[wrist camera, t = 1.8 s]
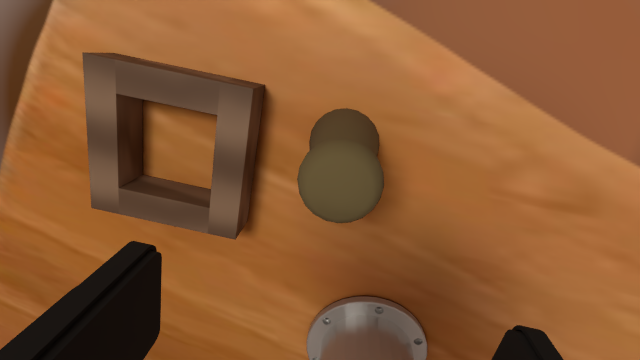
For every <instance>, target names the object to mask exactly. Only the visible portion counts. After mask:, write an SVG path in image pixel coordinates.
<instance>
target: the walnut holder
mask: <svg viewBox="0 0 640 360" xmlns="http://www.w3.org/2000/svg"><path fill="white" fill-rule="evenodd" d="M83 70H84V87H85V104H86V121H87V138H88V156H89V173H90V190H91V207H92V208H94V209H99V210H103V211H108V212H112V213H117V214H121V215H126V216H131V217H135V218H140V219H144V220H149V221H153V222H158V223H162V224H167V225H172V226H176V227H181V228H185V229H190V230H194V231H199V232H203V233H208V234H213V235H217V236H222V237H226V238H231V239H236V238H237V236H238V235H239V233H240V232H241V230H242V228H243V227H244V225H245V224H246V222H247V219H248V211H249V204H250V196H251V188H252V181H253V173H254V165H255V157H256V150H257V142H258V134H259V127H260V119H261V111H262V104H263V96H264V88H265V85H263V84H258V83H254V82H249V81H244V80H239V79H235V78H230V77H225V76H220V75H216V74H211V73H206V72H201V71H197V70H192V69H187V68H182V67H178V66H173V65H168V64H163V63H159V62H154V61H149V60H144V59H140V58H135V57H130V56H125V55H121V54H116V53H83ZM143 99H144V100H149V101H153V102H158V103H163V104H167V105H172V106H177V107H182V108H186V109H191V110H196V111H200V112H205V113H210V114H214V115H217V126H216V138H215V150H214V162H213V174H212V186H211V189H206V188H202V187H197V186H193V185H188V184H183V183H179V182H174V181H170V180H165V179H160V178H156V177H151V176H147V175H142V166H143Z"/></svg>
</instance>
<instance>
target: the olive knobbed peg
mask: <svg viewBox="0 0 640 360" xmlns="http://www.w3.org/2000/svg"><path fill="white" fill-rule="evenodd" d="M309 144H310V151H309V152H308V153H307V155H306V156H305V158H304V160H303V162H302V163H301V165H300V168H299V173H298V179H297V180H298V187H299V193H300V196H301V198H302V200H303V202H304V204H305V206H306V207H307V208H308V209H309V210H310V211H311V212H312V213H313V214H314V215H316V216H318V217H320V218H322V219H324V220H326V221H330V222H335V223H347V222H352V221H355V220H358V219H361V218H363V217H364V216H365V215H367V214H368V213H369V212H371V211H372V210H373V208H374V207H375V206H376V204H377V203H378V201H379V200H380V197H381V194H382V191H383V187H384V176H383V170H382V167H381V165H380V163H379V160H378V158H377V154H378V149H379V135H378V132H377V130H376V127H375V125H374V124H373V123H372V121H371V120H370V119H369V118H368V117H367V116H365V115H364V114H362V113H360V112H359V111H356V110H351V109H347V108H346V109H336V110H333V111H331V112H329V113H327V114H325V115H324V116H322V117H321V118H320V119H319V120H318V121H317V122H316V124H315V126H314V127H313V129H312V131H311V136H310V141H309Z"/></svg>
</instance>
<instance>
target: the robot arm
mask: <svg viewBox="0 0 640 360" xmlns="http://www.w3.org/2000/svg"><path fill="white" fill-rule="evenodd" d="M161 262H162V257H161V253H159V252H157V251H156V247H155V246H154V245H150V244H145V243H140V242H136V241H131V242H129V243H128V244H127V245H126V246H124V247H123V248H122V249H121V250H120V251H118V252H117V253H116V254H115V255H114V256H113V257H111V258H110V259H109V260H108V261H107V262H106V263H104V264H103V265H102V266H101V267H100V268H98V269H97V270H96V271H95V272H94V273H93V274H91V275H90V276H89V277H88V278H87V279H86V280H84V281H83V282H82V283H81V284H80V285H78V286H77V287H75V288H74V289H72V290H71V291H69V292H68V293H67V294H66V295H65V296H64V297H62V298H61V299H60V300H59V301H58V302H56V303H55V304H54V305H53V306H52V307H50V308H49V309H48V310H47V311H46V312H45V313H43V314H42V315H41V316H40V317H39V318H37V319H36V320H35V321H34V322H33V323H32V324H30V325H29V326H28V327H27V328H26V329H24V330H23V331H22V332H21V333H20V334H18V335H17V336H16V337H15V338H14V339H13V340H11V341H10V342H9V343H8V344H7V345H5V346H4V347H3V348H2V349H1V350H0V360H143V359H144V358H145V356H146V355H147V353H148V352H149V350H150V349H151V347H152V346H153V344H154V343H155V341H156V339H157V337H158V335H159V331H160V310H161ZM307 353H308V357H309V360H426V357H427V343H426V338H425V334H424V332H423V329H422V327H421V325H420V324H419V322H418V321H417V319H416V318H415V317H414V316H413V315H412V314H411V313H410V312H409V311H408V310H406V309H405V308H403V307H402V306H400V305H398V304H396V303H394V302H391V301H389V300H385V299H382V298H378V297H369V296H360V297H351V298H346V299H342V300H340V301H337V302H335V303H332V304H331V305H329V306H327V307H326V308H324V309H323V310H322V311H321V312H320V313H319V314H318V315H317V316H316V317H315V319H314V320H313V322H312V323H311V326H310V328H309V331H308V337H307ZM492 360H563V358H562V357H561V355H560V354H559V353H558V351H557V350H556V348H555V347H554V345H553V344H552V342H551V341H550V339H549V338H548V337H547V335H546V334H545V333H544V332H543V331H541V330H538V329H534V328H529V327H525V326H520V325H517V326H515V327H514V328H513V329H512V330H508V331H507V332H506V333H505V335H504V337H503V339H502V341H501V343H500V345H499V347H498V349H497V350H496V352H495V354H494V356H493V358H492Z"/></svg>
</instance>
